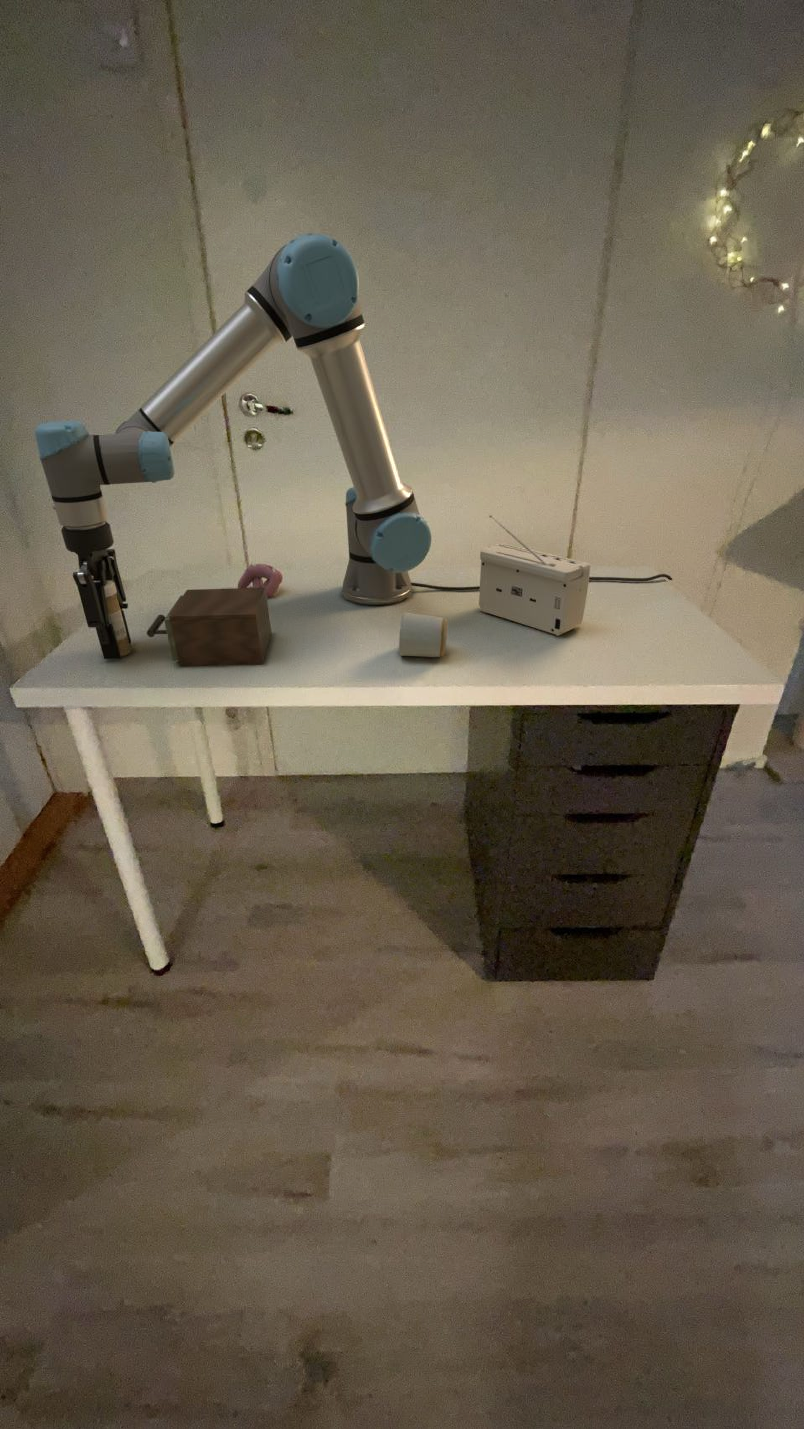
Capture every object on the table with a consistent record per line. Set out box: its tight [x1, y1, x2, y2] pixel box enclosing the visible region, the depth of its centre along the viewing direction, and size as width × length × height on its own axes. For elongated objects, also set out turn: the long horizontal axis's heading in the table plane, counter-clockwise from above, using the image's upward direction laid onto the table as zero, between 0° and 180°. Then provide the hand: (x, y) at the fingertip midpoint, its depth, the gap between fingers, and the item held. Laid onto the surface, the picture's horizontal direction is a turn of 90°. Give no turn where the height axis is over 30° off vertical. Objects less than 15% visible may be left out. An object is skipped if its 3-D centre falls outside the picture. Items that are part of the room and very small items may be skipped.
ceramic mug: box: [398, 612, 448, 658], centre depth 118 cm, size 11×8×8 cm
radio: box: [478, 514, 591, 637], centre depth 126 cm, size 21×8×20 cm, turn 47°
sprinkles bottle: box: [94, 580, 132, 658], centre depth 117 cm, size 5×5×13 cm
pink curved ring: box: [237, 563, 283, 599], centre depth 146 cm, size 10×5×7 cm, turn 58°
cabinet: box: [169, 587, 272, 667], centre depth 119 cm, size 15×13×10 cm
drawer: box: [146, 595, 183, 661], centre depth 118 cm, size 18×11×8 cm, turn 92°
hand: (118, 650), depth 120 cm, fingers open, 5 cm apart
